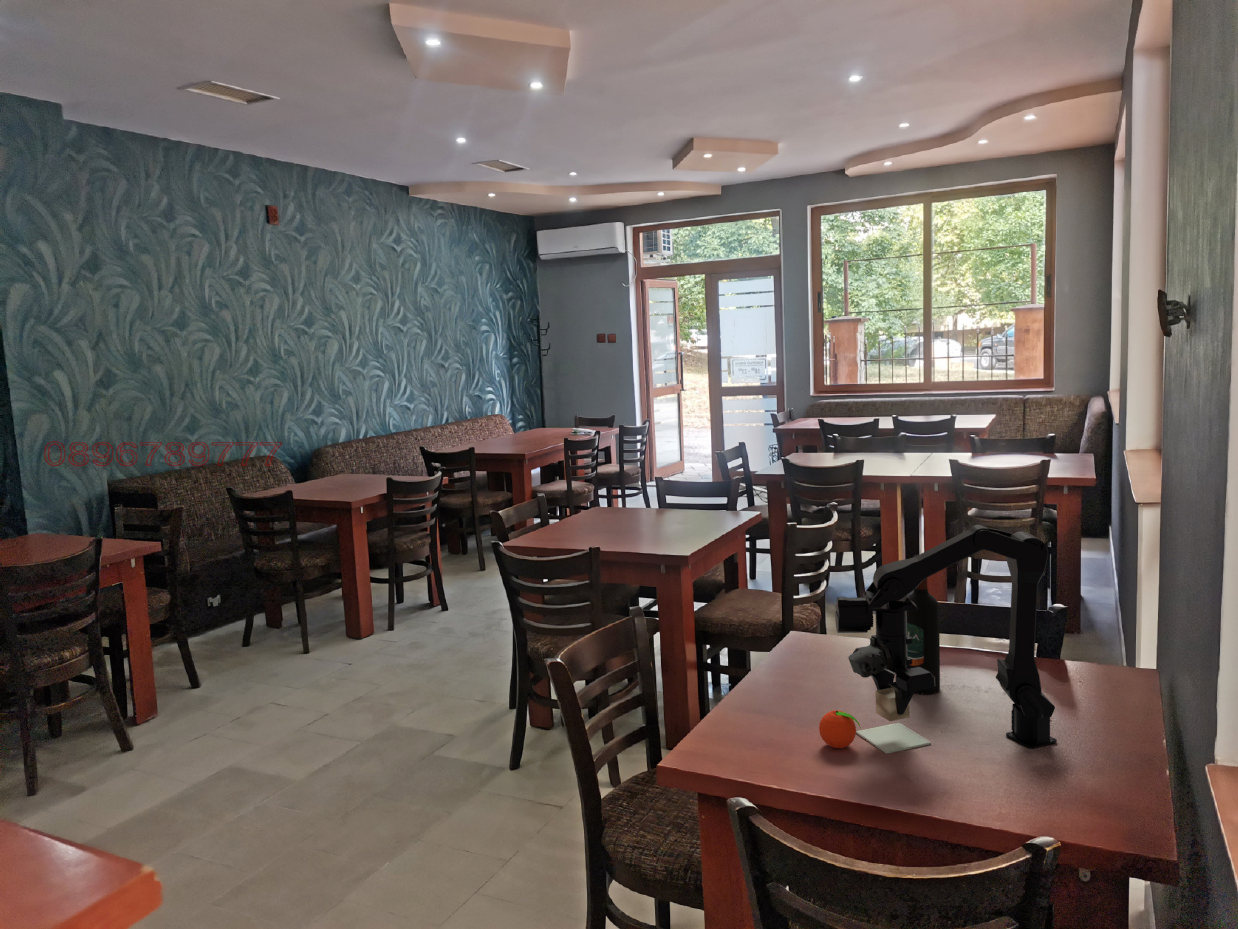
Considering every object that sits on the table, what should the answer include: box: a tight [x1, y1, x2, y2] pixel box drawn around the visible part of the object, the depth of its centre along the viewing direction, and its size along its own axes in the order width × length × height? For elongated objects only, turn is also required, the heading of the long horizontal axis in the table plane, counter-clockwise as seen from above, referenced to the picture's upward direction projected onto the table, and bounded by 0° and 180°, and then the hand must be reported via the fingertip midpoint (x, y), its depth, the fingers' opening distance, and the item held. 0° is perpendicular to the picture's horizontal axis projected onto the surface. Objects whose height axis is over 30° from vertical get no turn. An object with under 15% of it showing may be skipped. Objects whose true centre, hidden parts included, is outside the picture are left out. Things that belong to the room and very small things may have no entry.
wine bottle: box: [905, 554, 941, 696], centre depth 193 cm, size 8×8×30 cm
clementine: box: [818, 709, 861, 749], centre depth 168 cm, size 8×7×7 cm
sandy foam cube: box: [875, 688, 911, 722], centre depth 169 cm, size 4×4×4 cm
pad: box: [856, 722, 932, 754], centre depth 170 cm, size 10×10×1 cm
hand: (892, 710), depth 170 cm, fingers closed on sandy foam cube, 4 cm apart
